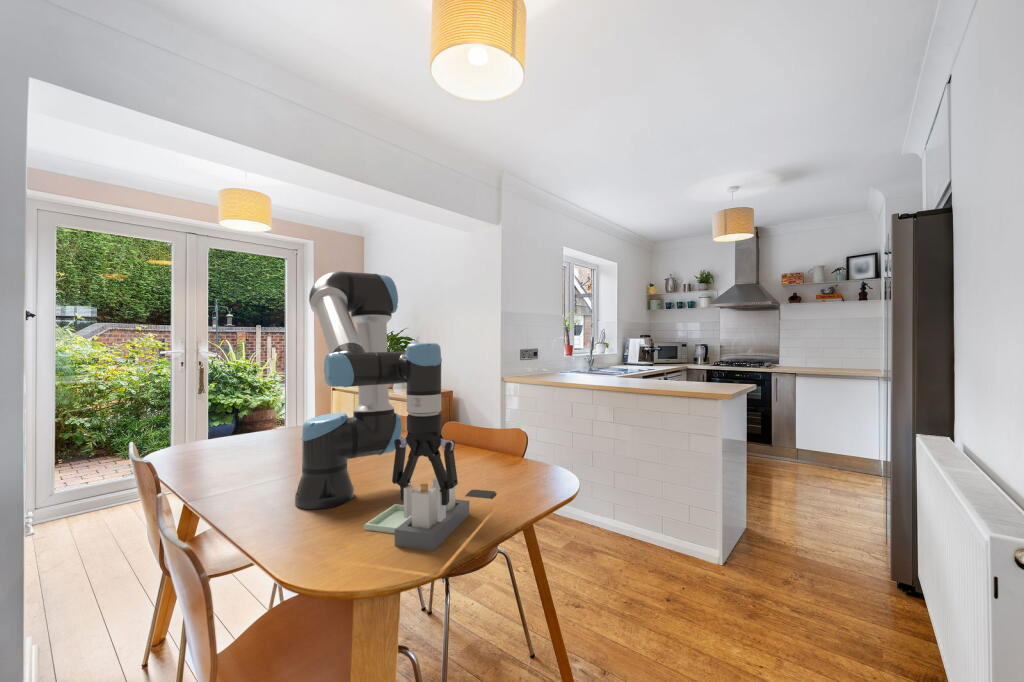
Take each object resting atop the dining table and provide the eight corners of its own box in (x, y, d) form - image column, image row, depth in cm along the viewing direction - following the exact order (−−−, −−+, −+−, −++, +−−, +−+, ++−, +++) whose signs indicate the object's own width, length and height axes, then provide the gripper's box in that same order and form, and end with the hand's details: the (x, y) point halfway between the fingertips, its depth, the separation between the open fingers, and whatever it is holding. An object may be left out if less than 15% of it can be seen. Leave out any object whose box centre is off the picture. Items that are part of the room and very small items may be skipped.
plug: (411, 539, 95) (411, 486, 95) (420, 531, 98) (420, 480, 99) (428, 541, 94) (428, 487, 94) (436, 533, 97) (436, 481, 97)
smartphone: (479, 515, 111) (496, 494, 127) (479, 512, 111) (496, 490, 127) (450, 512, 113) (471, 492, 129) (450, 509, 113) (471, 489, 129)
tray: (364, 532, 101) (364, 524, 101) (395, 511, 114) (394, 504, 114) (400, 536, 98) (399, 528, 98) (427, 514, 111) (427, 507, 111)
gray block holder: (394, 548, 93) (394, 489, 93) (436, 513, 112) (436, 464, 112) (433, 553, 90) (433, 492, 90) (469, 516, 109) (469, 466, 109)
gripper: (374, 414, 96) (374, 519, 95) (460, 417, 90) (461, 529, 90) (392, 409, 103) (393, 507, 103) (473, 412, 97) (474, 515, 97)
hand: (424, 517), depth 96 cm, fingers open, 7 cm apart
